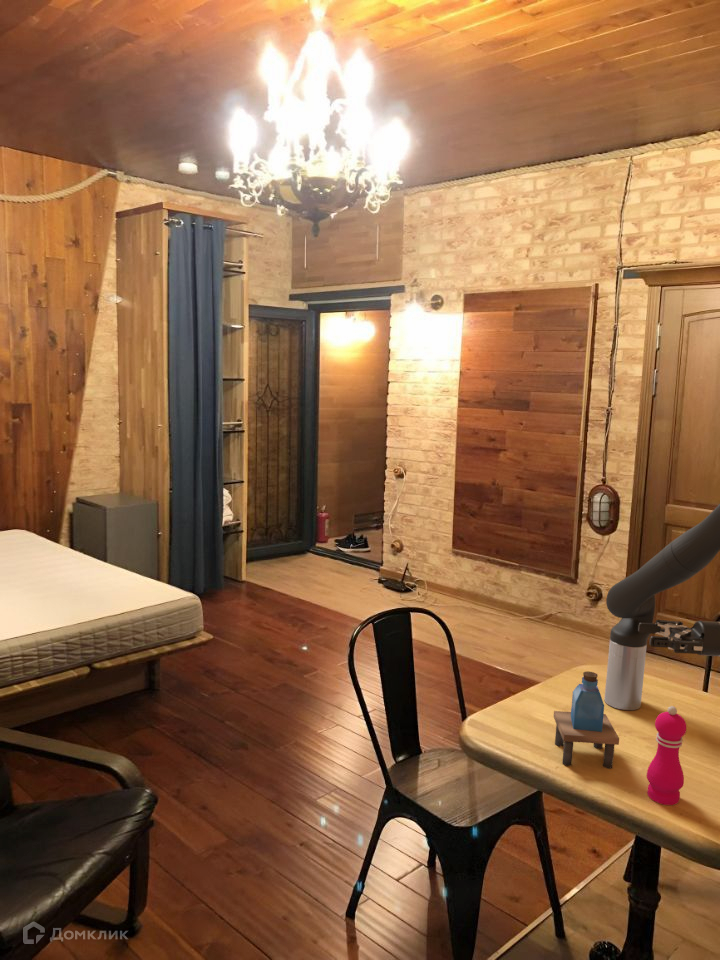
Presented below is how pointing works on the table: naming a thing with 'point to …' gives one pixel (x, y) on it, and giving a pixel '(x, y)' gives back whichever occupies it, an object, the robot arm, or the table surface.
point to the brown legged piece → (584, 738)
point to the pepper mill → (667, 759)
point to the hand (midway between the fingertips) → (644, 634)
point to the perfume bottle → (587, 704)
